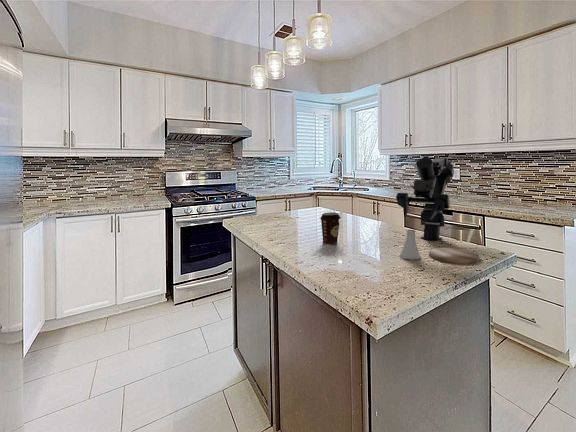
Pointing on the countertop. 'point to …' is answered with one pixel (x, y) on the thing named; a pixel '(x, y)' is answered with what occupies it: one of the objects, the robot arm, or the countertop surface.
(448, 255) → the walnut board
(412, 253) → the flask
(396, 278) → the countertop surface
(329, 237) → the coffee cup
